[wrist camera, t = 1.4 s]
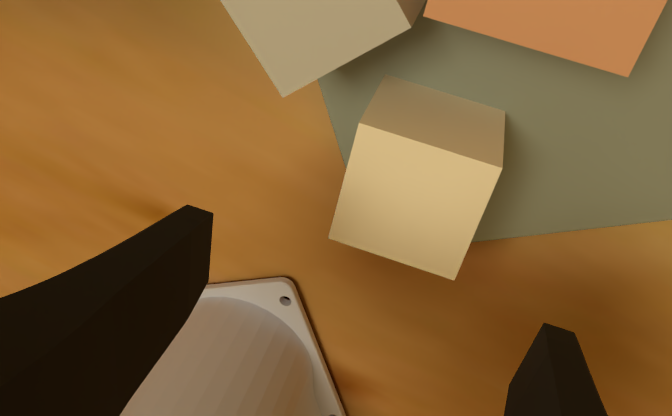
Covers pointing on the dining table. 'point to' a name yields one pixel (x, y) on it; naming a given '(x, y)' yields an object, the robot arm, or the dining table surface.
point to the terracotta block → (561, 26)
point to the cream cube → (419, 176)
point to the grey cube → (316, 33)
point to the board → (538, 123)
